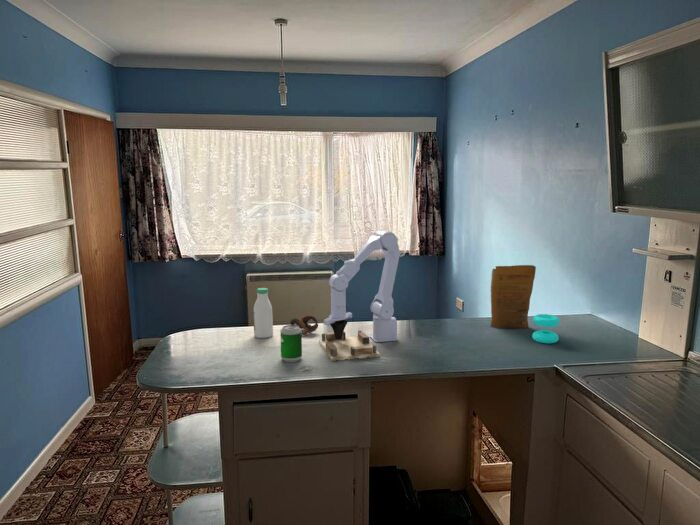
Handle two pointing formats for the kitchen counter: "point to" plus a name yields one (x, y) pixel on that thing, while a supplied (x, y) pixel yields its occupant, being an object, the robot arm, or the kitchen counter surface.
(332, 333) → the folding leg
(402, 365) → the kitchen counter surface
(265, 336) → the milk bottle
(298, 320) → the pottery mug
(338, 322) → the robot arm
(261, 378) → the kitchen counter surface
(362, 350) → the stool seat
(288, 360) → the soda can
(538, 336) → the donuts
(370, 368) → the kitchen counter surface
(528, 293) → the pancake mix bag
